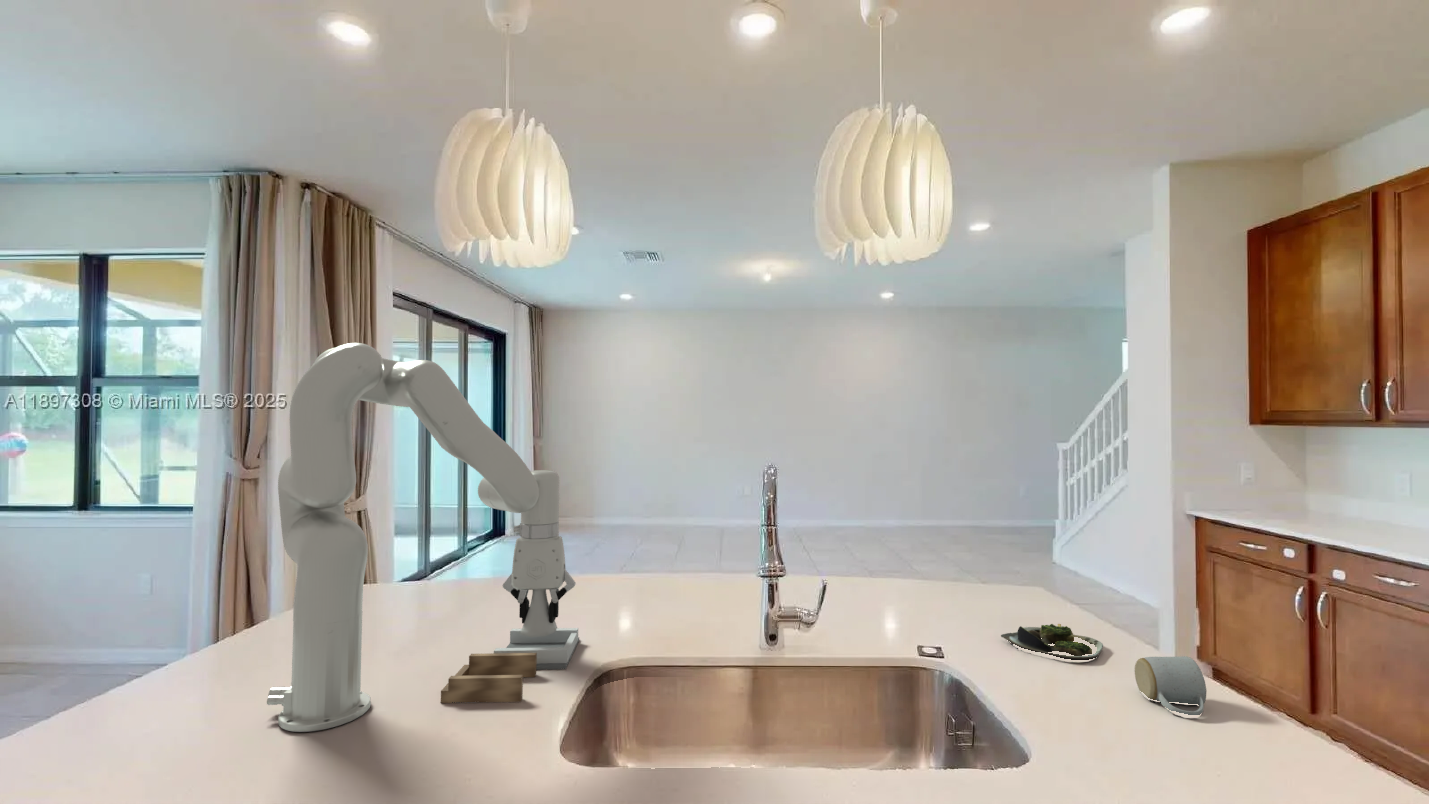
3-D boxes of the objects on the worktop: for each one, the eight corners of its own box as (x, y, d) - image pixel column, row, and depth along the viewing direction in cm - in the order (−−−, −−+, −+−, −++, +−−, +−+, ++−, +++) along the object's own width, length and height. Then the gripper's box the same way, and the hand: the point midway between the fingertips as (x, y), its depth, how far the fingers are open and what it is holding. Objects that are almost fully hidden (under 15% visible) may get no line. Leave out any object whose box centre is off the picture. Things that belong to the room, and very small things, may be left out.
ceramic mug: (1131, 690, 111) (1131, 647, 111) (1182, 694, 110) (1182, 650, 110) (1163, 719, 101) (1163, 671, 101) (1220, 723, 99) (1220, 675, 99)
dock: (491, 670, 118) (491, 653, 118) (513, 640, 134) (513, 626, 134) (565, 669, 119) (565, 652, 119) (579, 640, 135) (579, 625, 135)
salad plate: (1026, 626, 147) (1026, 606, 147) (1114, 645, 134) (1113, 624, 134) (994, 647, 133) (994, 625, 133) (1089, 671, 121) (1088, 647, 121)
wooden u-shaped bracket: (440, 703, 104) (441, 678, 104) (464, 675, 116) (464, 653, 116) (520, 701, 105) (521, 677, 105) (536, 674, 116) (536, 652, 116)
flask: (547, 639, 122) (547, 588, 123) (513, 636, 124) (514, 586, 124) (563, 627, 130) (563, 579, 130) (531, 625, 131) (531, 577, 131)
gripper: (492, 534, 123) (491, 628, 123) (578, 534, 124) (578, 626, 124) (503, 528, 131) (501, 616, 130) (584, 527, 132) (584, 614, 131)
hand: (539, 620), depth 127 cm, fingers closed on flask, 4 cm apart
